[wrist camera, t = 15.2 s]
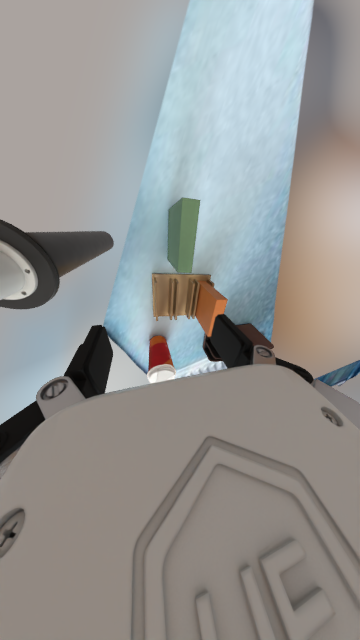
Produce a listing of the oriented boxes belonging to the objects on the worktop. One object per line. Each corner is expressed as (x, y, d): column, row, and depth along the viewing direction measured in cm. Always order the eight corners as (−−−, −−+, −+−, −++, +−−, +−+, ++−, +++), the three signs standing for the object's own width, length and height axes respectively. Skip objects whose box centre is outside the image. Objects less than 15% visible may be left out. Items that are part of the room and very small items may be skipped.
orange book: (192, 311, 43) (207, 336, 33) (196, 280, 38) (216, 299, 27) (199, 310, 44) (217, 335, 33) (205, 280, 39) (227, 299, 28)
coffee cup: (162, 351, 52) (168, 388, 40) (142, 346, 49) (142, 385, 36) (173, 336, 49) (182, 371, 37) (152, 329, 45) (155, 366, 33)
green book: (167, 259, 34) (177, 272, 24) (168, 209, 29) (182, 197, 18) (177, 259, 35) (191, 272, 24) (180, 211, 29) (200, 200, 19)
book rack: (153, 315, 42) (154, 324, 38) (151, 273, 35) (152, 278, 31) (202, 312, 46) (207, 320, 42) (209, 274, 39) (217, 279, 35)
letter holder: (205, 328, 50) (222, 357, 39) (250, 322, 54) (278, 347, 43) (202, 347, 56) (216, 377, 45) (243, 340, 60) (267, 367, 48)
